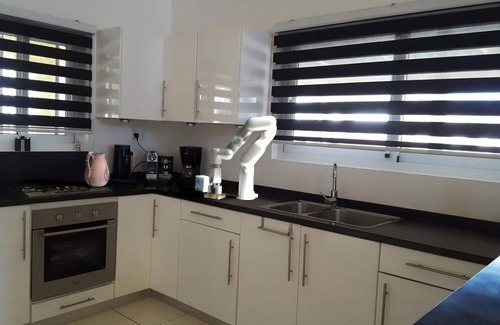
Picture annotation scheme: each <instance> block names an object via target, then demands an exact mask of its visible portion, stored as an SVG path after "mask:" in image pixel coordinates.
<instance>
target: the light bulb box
mask: <svg viewBox="0 0 500 325" xmlns="http://www.w3.org/2000/svg"><path fill="white" fill-rule="evenodd" d="M208 179H209V175H208V176H207V175H203V174H202V175H195V182H194V184H195V186H194V188H195V189H194V190H195V191H199V192H203V193H205V192H206V193H207V190H208V185H209V182H208Z"/></svg>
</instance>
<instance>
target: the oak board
mask: <svg viewBox="0 0 500 325" xmlns="http://www.w3.org/2000/svg"><path fill="white" fill-rule="evenodd" d="M226 196H227V195H226V193H222V192H221V194H219V195H218V194H212V193H204V195H203V198H205V199H206V198H207V199H214V200H220V199H224V198H226Z"/></svg>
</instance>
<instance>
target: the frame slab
mask: <svg viewBox="0 0 500 325" xmlns="http://www.w3.org/2000/svg"><path fill="white" fill-rule="evenodd" d="M222 188H223V187H222V185H220V184H219V185H215V194H218V195H219V194H221V193H222V191H223V190H222ZM206 194H211V186H210V184H209V185H208V190H207V192H206ZM212 194H213V193H212Z"/></svg>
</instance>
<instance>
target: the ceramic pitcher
mask: <svg viewBox="0 0 500 325" xmlns="http://www.w3.org/2000/svg"><path fill="white" fill-rule="evenodd" d="M85 165H86V167H85V169H84V170H85V171H84V180H85V182H86V184H87V185H89V186H90V187H94V188H95V187H104V186H105V185H107V183H108V182H109V179H110V170H109V166H108V164H107V160H106V152H101V151H99V152H95V151H90V152H88V154H86V156H85Z"/></svg>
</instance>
